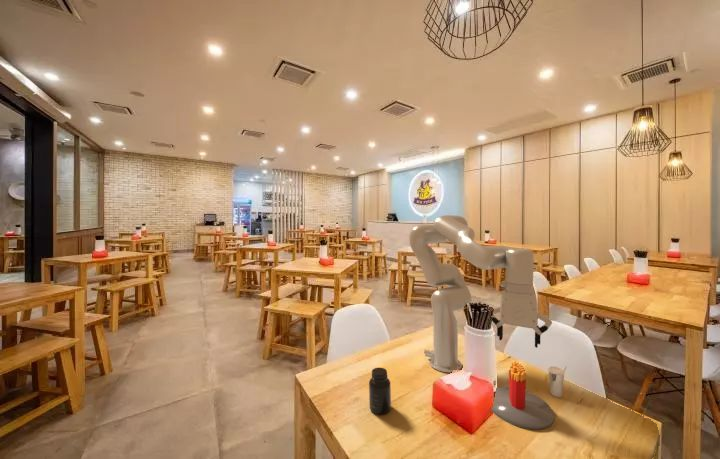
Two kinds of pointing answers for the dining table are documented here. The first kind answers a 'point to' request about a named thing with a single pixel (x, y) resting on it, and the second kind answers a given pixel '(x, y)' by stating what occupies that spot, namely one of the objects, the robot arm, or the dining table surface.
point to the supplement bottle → (379, 392)
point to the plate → (530, 417)
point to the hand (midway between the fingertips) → (518, 342)
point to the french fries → (517, 385)
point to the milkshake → (556, 380)
